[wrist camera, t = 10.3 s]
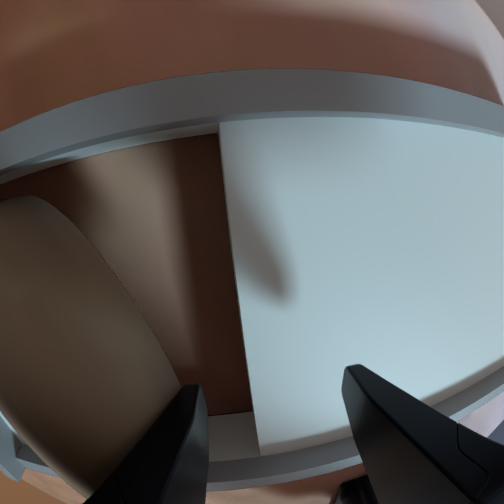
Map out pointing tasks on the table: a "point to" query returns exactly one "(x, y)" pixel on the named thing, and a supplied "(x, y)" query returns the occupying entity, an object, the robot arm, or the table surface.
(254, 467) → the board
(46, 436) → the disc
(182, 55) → the table surface
